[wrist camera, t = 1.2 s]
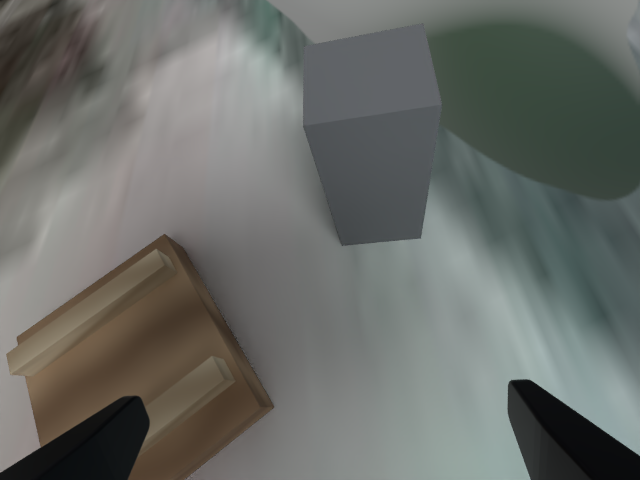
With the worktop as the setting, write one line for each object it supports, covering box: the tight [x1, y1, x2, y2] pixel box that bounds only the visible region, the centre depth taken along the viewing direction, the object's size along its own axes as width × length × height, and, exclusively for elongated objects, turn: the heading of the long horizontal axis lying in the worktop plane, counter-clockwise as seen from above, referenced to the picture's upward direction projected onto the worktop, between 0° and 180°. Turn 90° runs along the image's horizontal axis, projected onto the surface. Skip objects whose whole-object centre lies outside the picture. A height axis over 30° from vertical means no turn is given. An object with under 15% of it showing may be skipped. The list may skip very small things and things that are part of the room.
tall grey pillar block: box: [303, 23, 442, 246], centre depth 20 cm, size 5×6×12 cm
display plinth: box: [6, 234, 274, 480], centre depth 22 cm, size 14×12×4 cm
